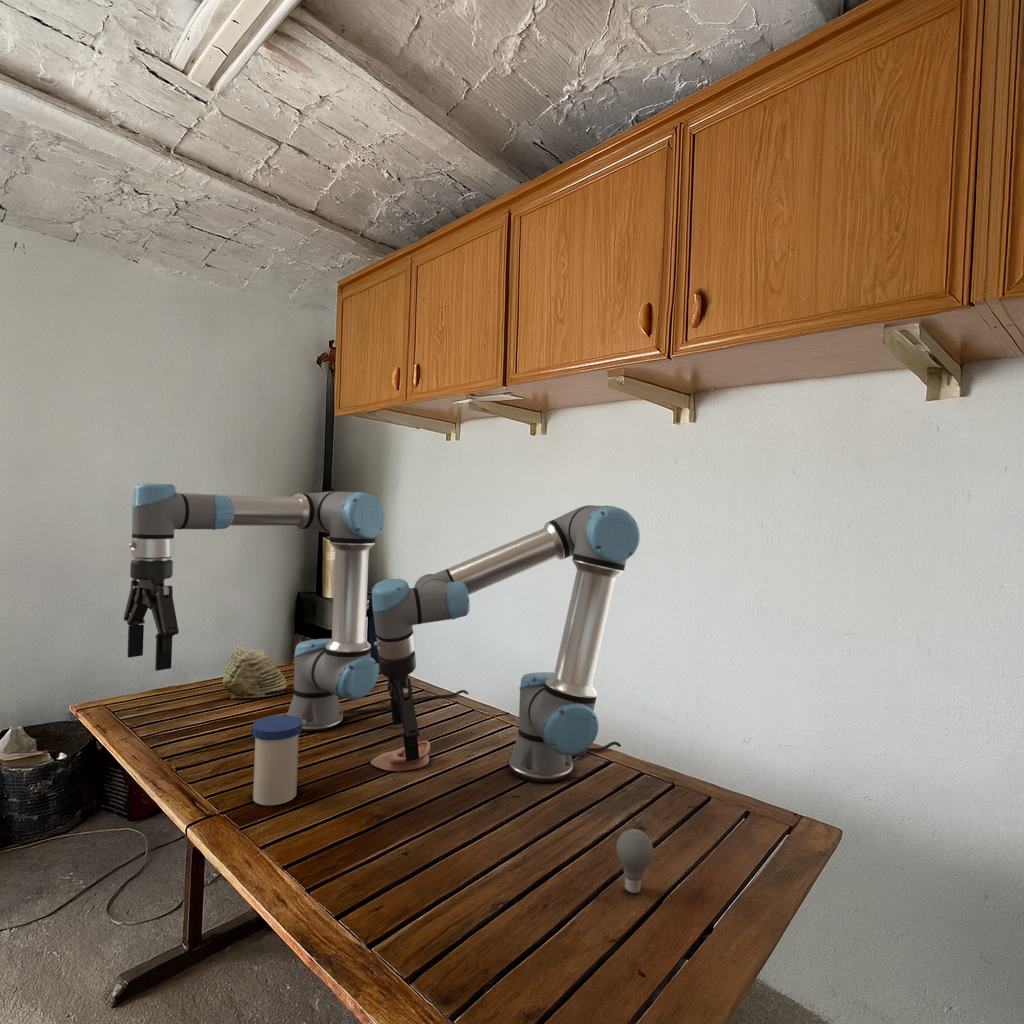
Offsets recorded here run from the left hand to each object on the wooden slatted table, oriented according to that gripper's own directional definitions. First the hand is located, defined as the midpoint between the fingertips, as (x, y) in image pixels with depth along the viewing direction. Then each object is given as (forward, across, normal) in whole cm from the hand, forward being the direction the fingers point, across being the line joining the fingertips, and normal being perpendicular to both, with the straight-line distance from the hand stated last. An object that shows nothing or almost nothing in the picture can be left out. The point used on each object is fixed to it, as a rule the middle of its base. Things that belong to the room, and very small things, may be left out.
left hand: (148, 662), depth 129 cm
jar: (+28, +18, +19) cm, 38 cm away
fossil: (+28, -47, +50) cm, 74 cm away
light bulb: (+28, +90, +41) cm, 103 cm away
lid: (+13, +18, +19) cm, 29 cm away
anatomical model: (+28, +24, +48) cm, 61 cm away
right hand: (+17, +36, +38) cm, 55 cm away
